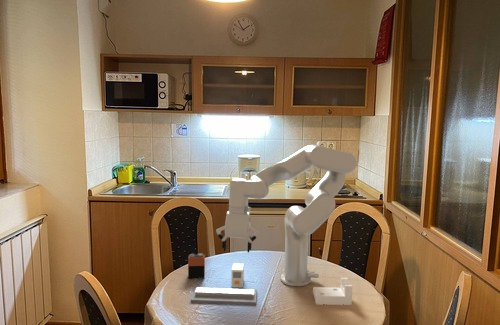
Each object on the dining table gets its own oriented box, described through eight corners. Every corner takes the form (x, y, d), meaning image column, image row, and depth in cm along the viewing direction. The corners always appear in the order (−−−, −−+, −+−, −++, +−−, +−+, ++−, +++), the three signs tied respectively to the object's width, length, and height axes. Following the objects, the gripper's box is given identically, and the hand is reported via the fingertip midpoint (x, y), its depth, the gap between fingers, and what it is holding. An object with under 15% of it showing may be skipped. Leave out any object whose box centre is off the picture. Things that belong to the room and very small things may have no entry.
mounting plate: (256, 292, 146) (256, 289, 146) (255, 304, 136) (255, 302, 136) (195, 289, 147) (195, 287, 147) (190, 302, 137) (190, 299, 137)
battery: (204, 278, 157) (204, 255, 156) (188, 279, 157) (188, 256, 155) (204, 274, 162) (204, 252, 160) (188, 274, 161) (188, 252, 160)
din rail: (253, 293, 143) (253, 289, 143) (253, 297, 139) (253, 294, 139) (196, 291, 144) (196, 287, 144) (195, 295, 140) (195, 291, 140)
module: (243, 279, 157) (244, 263, 156) (242, 288, 149) (242, 270, 148) (233, 279, 157) (233, 263, 156) (231, 287, 149) (231, 270, 149)
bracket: (346, 296, 144) (347, 277, 143) (351, 305, 137) (352, 286, 136) (313, 295, 144) (313, 277, 144) (316, 305, 137) (316, 285, 136)
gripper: (260, 208, 153) (258, 248, 155) (218, 206, 154) (216, 246, 156) (259, 213, 145) (257, 255, 148) (215, 210, 146) (214, 252, 148)
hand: (236, 250), depth 152 cm, fingers open, 9 cm apart
